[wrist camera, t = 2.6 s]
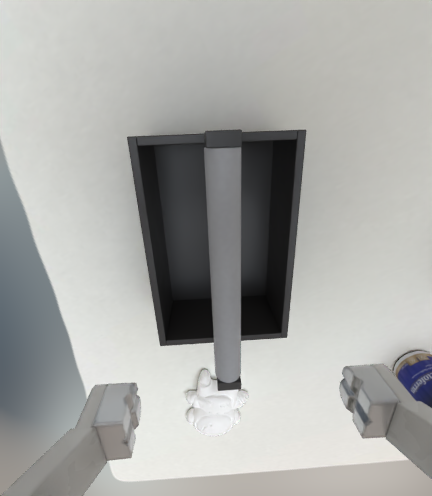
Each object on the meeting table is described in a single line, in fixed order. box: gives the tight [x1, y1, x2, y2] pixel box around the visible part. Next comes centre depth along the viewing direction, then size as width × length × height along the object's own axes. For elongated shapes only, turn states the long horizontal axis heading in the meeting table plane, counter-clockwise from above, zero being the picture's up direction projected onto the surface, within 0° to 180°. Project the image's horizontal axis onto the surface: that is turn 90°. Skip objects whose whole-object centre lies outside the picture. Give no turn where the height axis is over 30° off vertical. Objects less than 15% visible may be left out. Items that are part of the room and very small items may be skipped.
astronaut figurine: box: [186, 370, 249, 436], centre depth 36 cm, size 9×12×3 cm
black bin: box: [127, 130, 306, 391], centre depth 22 cm, size 18×12×12 cm, turn 2°
